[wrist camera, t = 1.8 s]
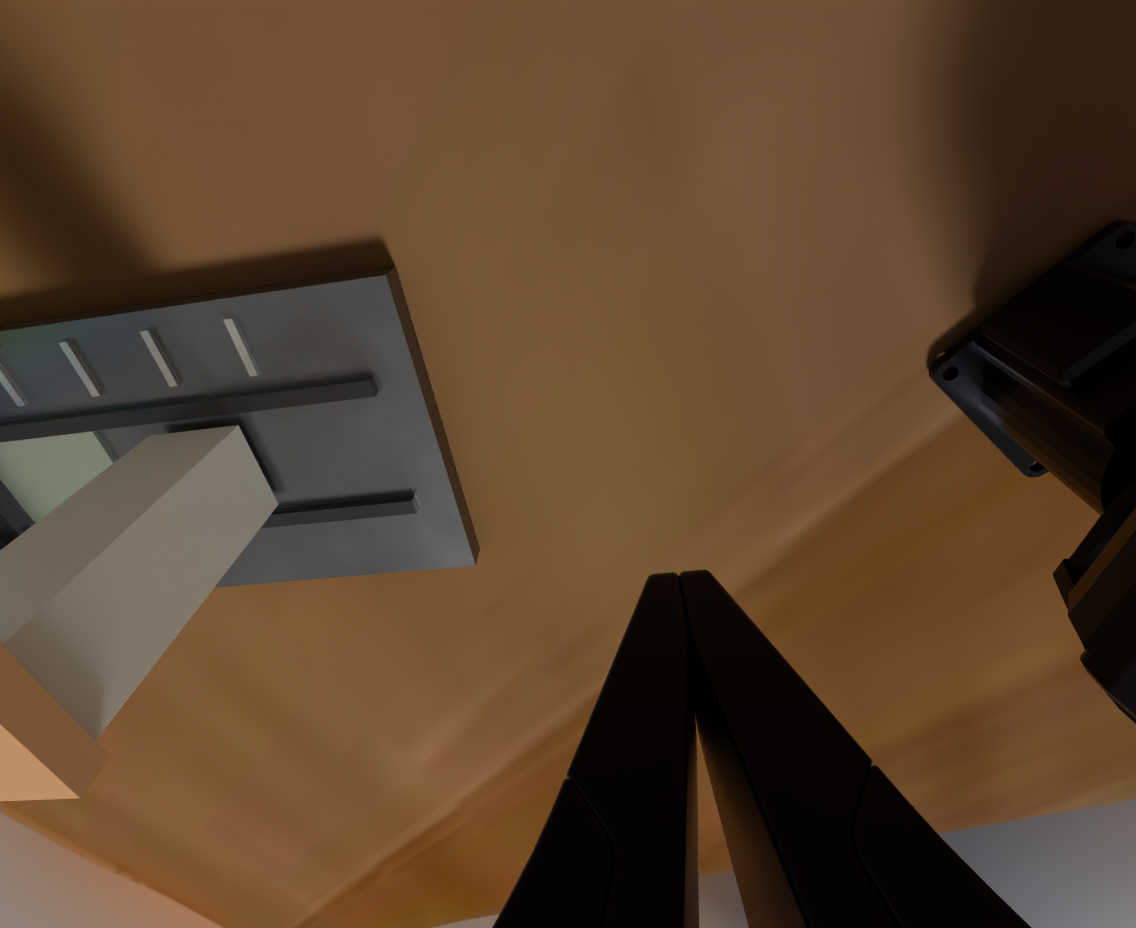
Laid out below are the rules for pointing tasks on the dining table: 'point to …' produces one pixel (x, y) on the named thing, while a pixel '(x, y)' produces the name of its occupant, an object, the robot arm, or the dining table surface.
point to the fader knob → (113, 596)
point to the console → (249, 418)
